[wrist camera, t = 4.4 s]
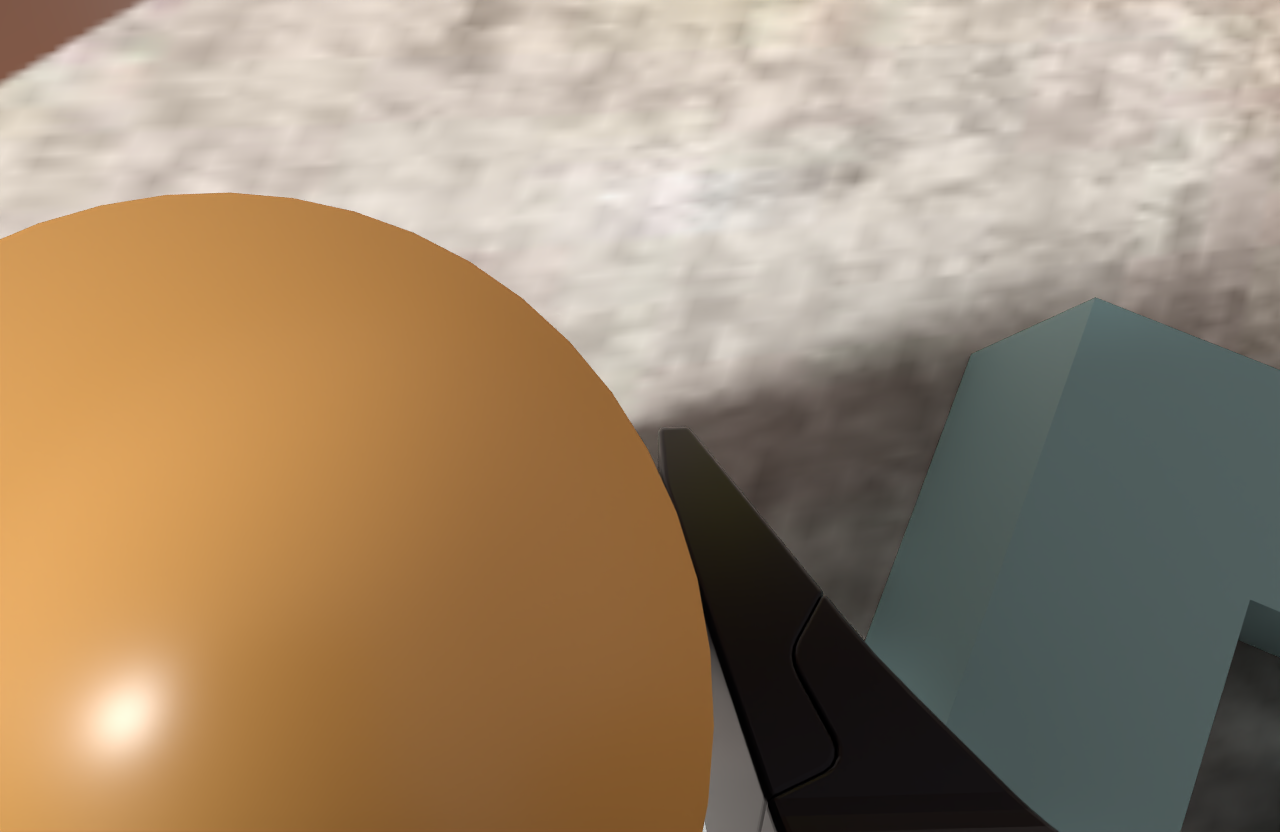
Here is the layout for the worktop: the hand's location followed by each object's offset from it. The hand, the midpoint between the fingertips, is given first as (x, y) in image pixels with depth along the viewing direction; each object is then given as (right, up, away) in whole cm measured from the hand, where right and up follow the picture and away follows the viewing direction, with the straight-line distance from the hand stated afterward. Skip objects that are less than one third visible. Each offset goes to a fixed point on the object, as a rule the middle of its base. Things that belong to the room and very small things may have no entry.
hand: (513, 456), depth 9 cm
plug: (0, -2, +6) cm, 7 cm away
